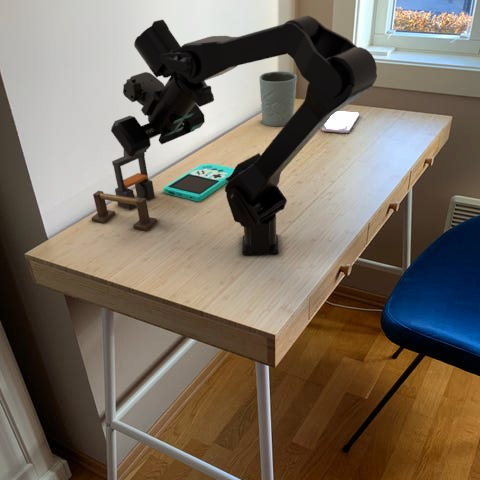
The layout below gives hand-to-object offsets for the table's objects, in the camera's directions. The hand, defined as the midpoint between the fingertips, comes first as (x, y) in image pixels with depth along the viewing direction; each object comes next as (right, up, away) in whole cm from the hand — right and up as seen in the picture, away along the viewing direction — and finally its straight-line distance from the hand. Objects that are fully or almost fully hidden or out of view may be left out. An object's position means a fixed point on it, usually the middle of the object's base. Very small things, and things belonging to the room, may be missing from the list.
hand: (143, 149), depth 103 cm
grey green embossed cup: (+30, +23, +46) cm, 59 cm away
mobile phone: (+46, +21, +42) cm, 66 cm away
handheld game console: (+10, -3, +16) cm, 19 cm away
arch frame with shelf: (-3, -8, +10) cm, 13 cm away
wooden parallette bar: (-4, -13, +3) cm, 14 cm away
